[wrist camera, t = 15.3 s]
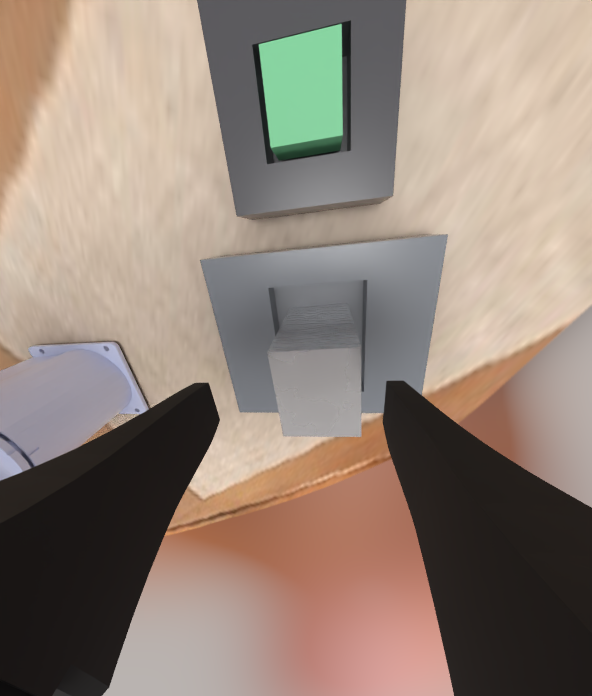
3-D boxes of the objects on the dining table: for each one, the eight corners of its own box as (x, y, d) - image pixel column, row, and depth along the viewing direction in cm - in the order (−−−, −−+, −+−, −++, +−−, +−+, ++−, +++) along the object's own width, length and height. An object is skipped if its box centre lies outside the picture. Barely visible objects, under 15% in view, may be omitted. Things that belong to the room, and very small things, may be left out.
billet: (298, 368, 18) (283, 436, 12) (290, 307, 16) (267, 352, 10) (349, 366, 18) (361, 436, 12) (347, 302, 16) (361, 347, 9)
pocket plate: (248, 394, 22) (240, 412, 19) (217, 256, 16) (200, 260, 14) (408, 392, 19) (418, 413, 17) (429, 234, 14) (447, 234, 12)
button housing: (252, 219, 15) (236, 216, 12) (224, 40, 12) (193, -19, 9) (380, 203, 14) (392, 195, 11) (390, -3, 10) (411, -85, 8)
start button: (279, 160, 12) (270, 147, 10) (270, 75, 11) (258, 44, 9) (340, 150, 12) (342, 135, 10) (339, 60, 10) (341, 24, 9)
